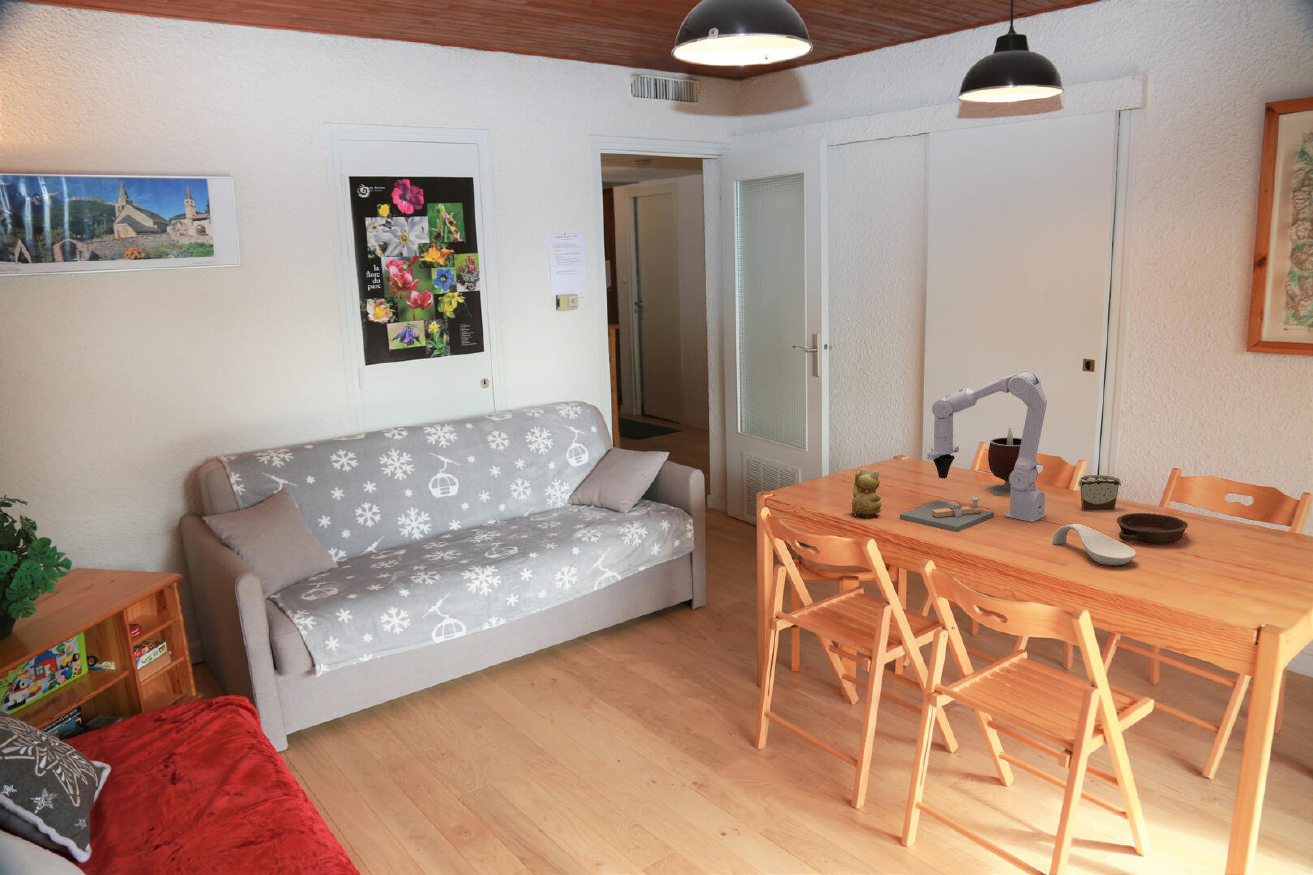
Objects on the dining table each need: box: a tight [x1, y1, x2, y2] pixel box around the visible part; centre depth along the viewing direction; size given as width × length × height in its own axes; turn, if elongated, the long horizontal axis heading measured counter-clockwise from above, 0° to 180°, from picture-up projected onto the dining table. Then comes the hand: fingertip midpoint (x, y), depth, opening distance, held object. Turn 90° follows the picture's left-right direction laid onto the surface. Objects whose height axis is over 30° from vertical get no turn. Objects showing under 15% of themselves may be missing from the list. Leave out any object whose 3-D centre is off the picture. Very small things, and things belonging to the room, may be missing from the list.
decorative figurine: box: [851, 467, 883, 519], centre depth 293 cm, size 10×8×15 cm
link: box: [932, 496, 982, 517], centre depth 285 cm, size 15×4×4 cm, turn 101°
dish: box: [1116, 512, 1189, 545], centre depth 261 cm, size 17×22×5 cm
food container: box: [1077, 474, 1122, 512], centre depth 290 cm, size 12×6×10 cm, turn 84°
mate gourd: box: [987, 427, 1022, 497], centre depth 313 cm, size 16×14×20 cm
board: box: [899, 500, 995, 532], centre depth 288 cm, size 20×20×2 cm
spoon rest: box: [1051, 523, 1137, 566], centre depth 249 cm, size 24×12×7 cm, turn 23°
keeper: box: [946, 501, 963, 518], centre depth 285 cm, size 2×5×4 cm, turn 10°
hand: (942, 477), depth 298 cm, fingers closed
